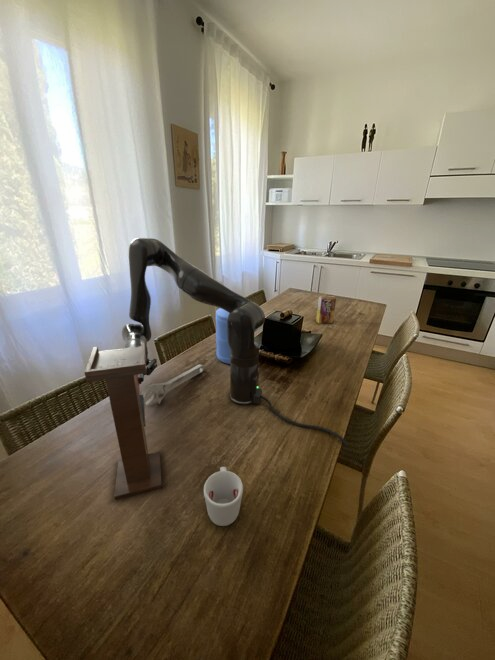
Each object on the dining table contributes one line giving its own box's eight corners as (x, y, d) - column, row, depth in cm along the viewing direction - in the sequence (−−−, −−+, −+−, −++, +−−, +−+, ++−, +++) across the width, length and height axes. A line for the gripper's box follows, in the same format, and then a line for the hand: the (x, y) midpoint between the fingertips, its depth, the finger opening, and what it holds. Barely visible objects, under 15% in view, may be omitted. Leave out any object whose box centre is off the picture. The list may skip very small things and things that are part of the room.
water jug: (209, 360, 119) (208, 297, 108) (226, 345, 132) (226, 287, 121) (243, 368, 114) (245, 303, 103) (257, 352, 127) (259, 292, 116)
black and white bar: (126, 369, 83) (124, 364, 80) (142, 367, 84) (140, 362, 82) (127, 430, 73) (125, 426, 71) (145, 426, 74) (144, 423, 72)
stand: (118, 463, 70) (93, 347, 57) (159, 454, 74) (145, 341, 60) (114, 499, 62) (84, 372, 49) (161, 487, 65) (145, 364, 52)
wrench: (203, 377, 113) (145, 413, 87) (200, 375, 113) (141, 411, 88) (204, 358, 110) (144, 390, 85) (200, 357, 111) (140, 388, 85)
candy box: (329, 320, 166) (333, 295, 160) (332, 323, 162) (336, 297, 156) (315, 320, 165) (318, 296, 159) (318, 323, 161) (321, 298, 155)
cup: (206, 485, 66) (205, 460, 63) (240, 483, 66) (240, 458, 63) (203, 533, 56) (202, 507, 53) (243, 531, 57) (244, 504, 53)
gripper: (111, 345, 90) (104, 374, 75) (156, 340, 94) (158, 367, 79) (114, 365, 93) (108, 397, 78) (158, 360, 97) (161, 389, 82)
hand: (133, 381), depth 79 cm, fingers closed on black and white bar, 2 cm apart
